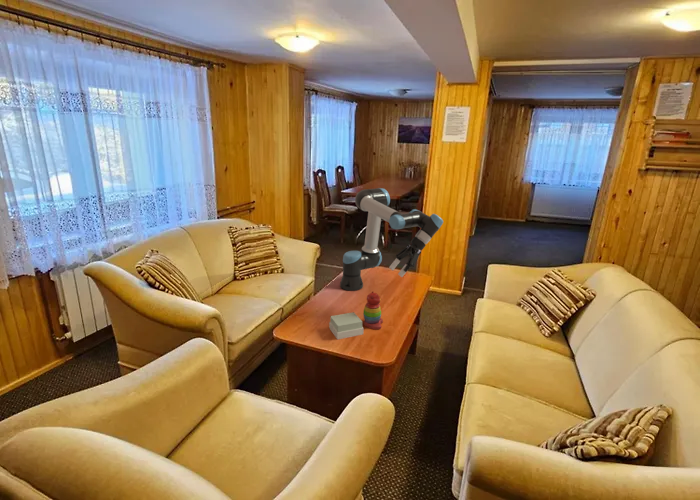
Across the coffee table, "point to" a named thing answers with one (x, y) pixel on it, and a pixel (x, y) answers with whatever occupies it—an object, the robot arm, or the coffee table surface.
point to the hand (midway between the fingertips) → (395, 272)
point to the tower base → (346, 333)
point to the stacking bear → (372, 312)
